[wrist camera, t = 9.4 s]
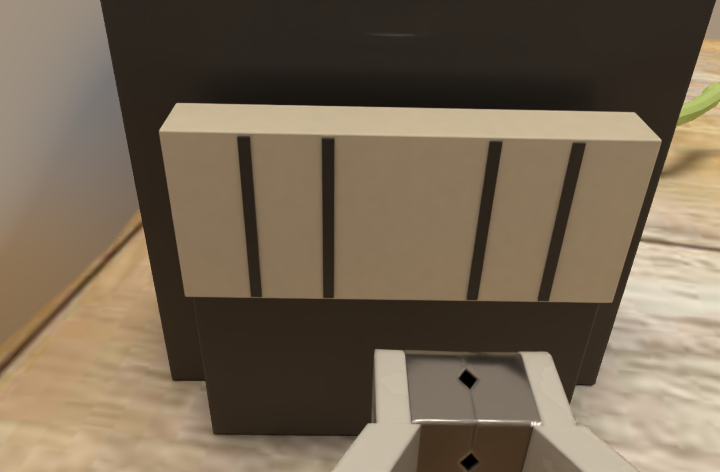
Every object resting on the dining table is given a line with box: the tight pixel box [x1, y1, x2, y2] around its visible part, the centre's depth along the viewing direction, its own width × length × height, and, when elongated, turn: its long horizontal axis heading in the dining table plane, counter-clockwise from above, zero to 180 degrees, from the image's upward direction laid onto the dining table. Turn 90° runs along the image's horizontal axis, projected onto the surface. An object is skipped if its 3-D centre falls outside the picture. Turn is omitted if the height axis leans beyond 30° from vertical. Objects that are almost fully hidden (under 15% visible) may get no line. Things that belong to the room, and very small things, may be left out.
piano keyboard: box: [159, 103, 662, 303], centre depth 17 cm, size 2×12×5 cm, turn 90°
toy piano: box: [100, 0, 716, 435], centre depth 22 cm, size 9×16×15 cm, turn 91°
